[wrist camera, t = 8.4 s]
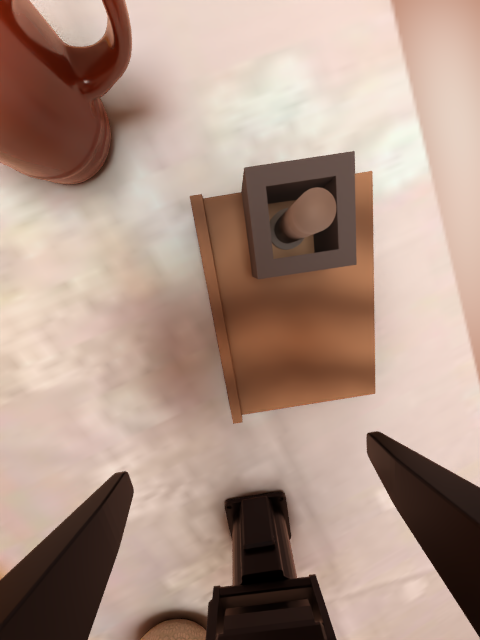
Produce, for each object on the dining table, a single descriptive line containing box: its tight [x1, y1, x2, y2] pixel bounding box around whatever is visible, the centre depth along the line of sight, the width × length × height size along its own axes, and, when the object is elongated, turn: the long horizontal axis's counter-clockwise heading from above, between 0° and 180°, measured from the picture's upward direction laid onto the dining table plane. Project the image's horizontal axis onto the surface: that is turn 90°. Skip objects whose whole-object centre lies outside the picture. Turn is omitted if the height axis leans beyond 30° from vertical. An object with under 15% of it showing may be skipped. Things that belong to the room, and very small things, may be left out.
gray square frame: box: [241, 151, 357, 279], centre depth 15 cm, size 6×6×4 cm
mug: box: [0, 0, 132, 184], centre depth 11 cm, size 12×9×10 cm
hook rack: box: [190, 171, 375, 424], centre depth 16 cm, size 18×13×7 cm
